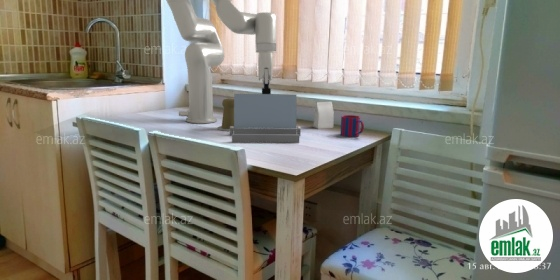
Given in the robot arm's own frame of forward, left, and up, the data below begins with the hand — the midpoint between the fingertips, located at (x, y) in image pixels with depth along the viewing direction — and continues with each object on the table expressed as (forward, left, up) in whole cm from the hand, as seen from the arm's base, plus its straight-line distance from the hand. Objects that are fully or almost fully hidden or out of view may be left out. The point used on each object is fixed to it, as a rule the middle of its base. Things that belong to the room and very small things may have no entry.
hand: (266, 99), depth 153 cm
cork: (-14, +2, -11) cm, 18 cm away
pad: (-13, +2, -12) cm, 18 cm away
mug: (+31, -10, -12) cm, 34 cm away
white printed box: (+23, +6, -12) cm, 26 cm away
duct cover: (0, -7, -3) cm, 8 cm away
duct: (0, -14, -11) cm, 18 cm away
